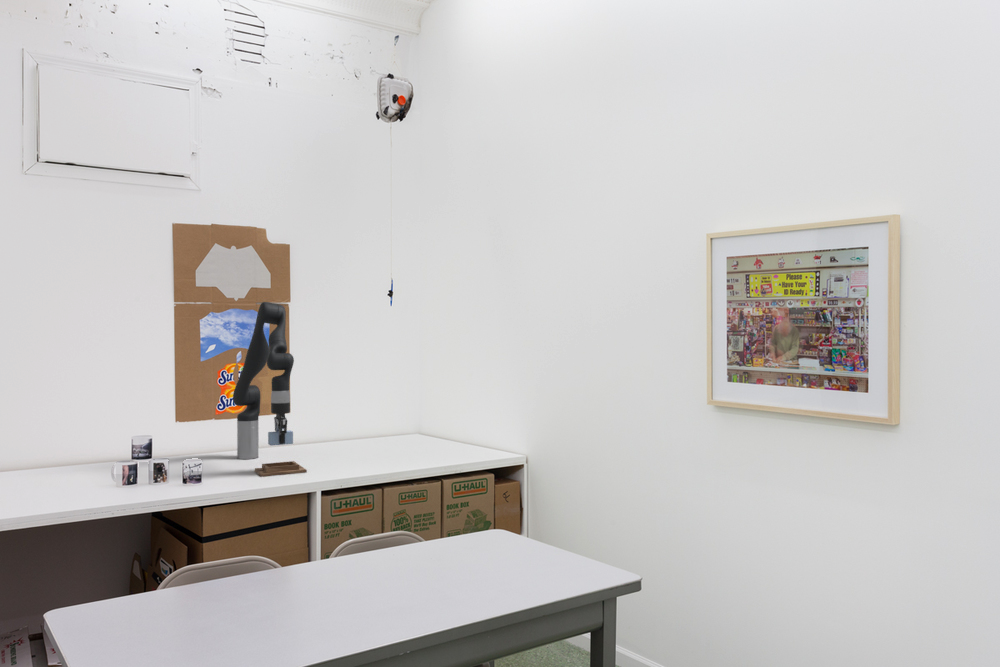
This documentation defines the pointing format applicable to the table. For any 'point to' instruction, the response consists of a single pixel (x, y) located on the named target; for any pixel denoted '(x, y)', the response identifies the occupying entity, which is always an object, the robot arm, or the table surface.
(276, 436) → the bar
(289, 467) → the tray
